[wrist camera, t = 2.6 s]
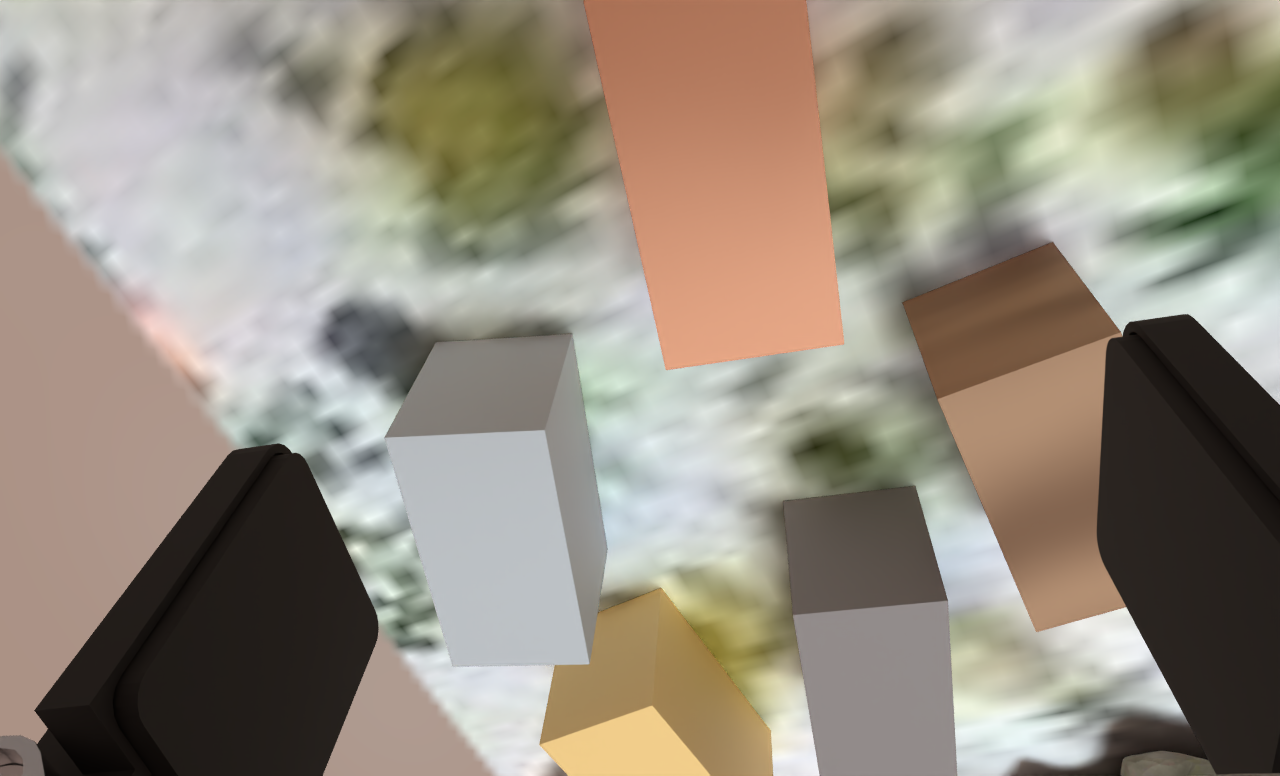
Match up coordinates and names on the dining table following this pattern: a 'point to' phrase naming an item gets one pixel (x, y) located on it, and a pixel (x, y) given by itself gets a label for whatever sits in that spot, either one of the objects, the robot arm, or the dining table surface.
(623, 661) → the ochre brick
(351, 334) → the dining table surface
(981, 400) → the walnut brick
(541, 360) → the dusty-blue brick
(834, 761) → the charcoal brick
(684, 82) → the terracotta brick
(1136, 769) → the artifact
